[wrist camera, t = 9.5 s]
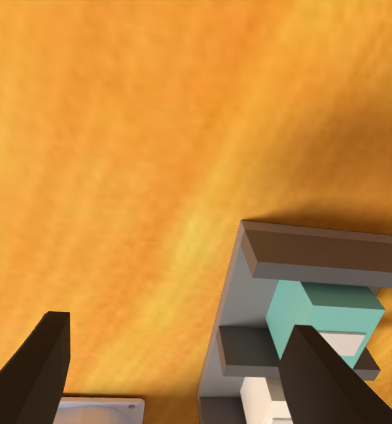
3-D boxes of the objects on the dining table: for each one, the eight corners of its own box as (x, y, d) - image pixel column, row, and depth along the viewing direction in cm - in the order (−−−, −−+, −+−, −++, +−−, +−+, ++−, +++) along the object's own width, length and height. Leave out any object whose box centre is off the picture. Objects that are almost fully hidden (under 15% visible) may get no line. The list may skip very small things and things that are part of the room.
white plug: (240, 391, 26) (252, 450, 23) (255, 345, 24) (272, 403, 20) (289, 392, 27) (309, 449, 23) (309, 348, 25) (334, 404, 21)
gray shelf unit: (196, 392, 28) (201, 446, 24) (240, 220, 20) (257, 261, 17) (313, 395, 29) (333, 446, 26) (394, 235, 22) (438, 276, 18)
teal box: (265, 318, 23) (285, 374, 19) (286, 257, 21) (313, 307, 17) (321, 321, 23) (350, 376, 20) (348, 262, 21) (387, 312, 18)
